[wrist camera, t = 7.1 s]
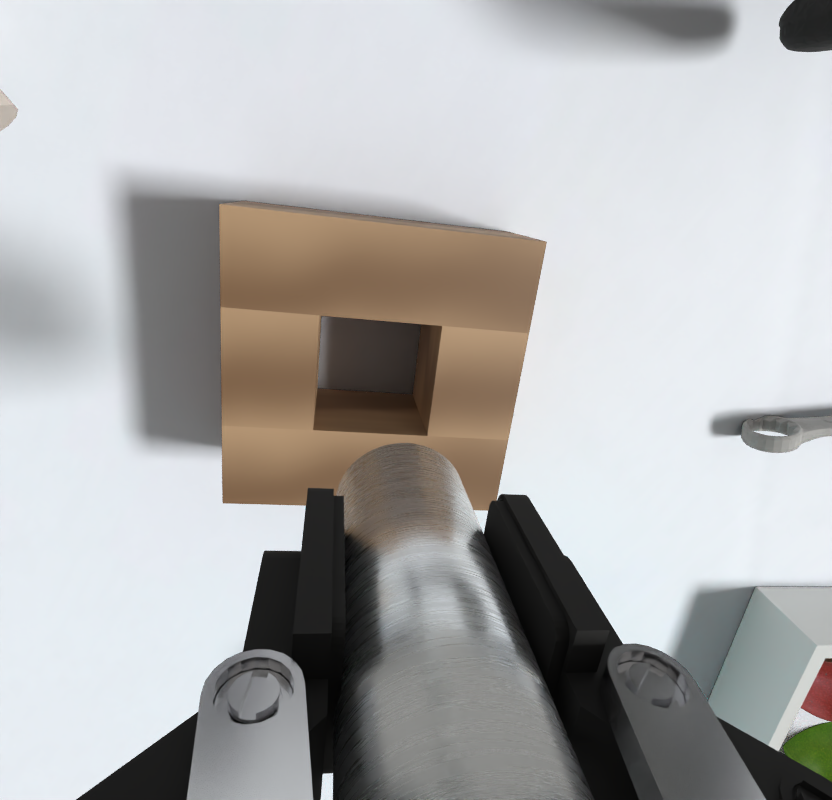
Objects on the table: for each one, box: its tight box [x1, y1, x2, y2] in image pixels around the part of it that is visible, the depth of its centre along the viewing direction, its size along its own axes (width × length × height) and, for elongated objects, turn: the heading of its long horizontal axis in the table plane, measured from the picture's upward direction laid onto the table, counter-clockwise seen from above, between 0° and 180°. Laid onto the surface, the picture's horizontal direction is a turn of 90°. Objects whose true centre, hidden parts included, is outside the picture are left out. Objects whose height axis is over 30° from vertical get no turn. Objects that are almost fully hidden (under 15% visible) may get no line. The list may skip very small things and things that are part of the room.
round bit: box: [333, 443, 594, 800], centre depth 9 cm, size 3×3×10 cm
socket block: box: [219, 201, 547, 510], centre depth 24 cm, size 12×12×5 cm
